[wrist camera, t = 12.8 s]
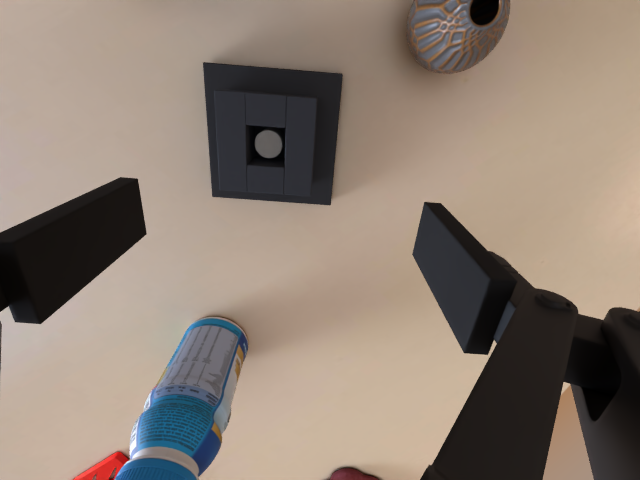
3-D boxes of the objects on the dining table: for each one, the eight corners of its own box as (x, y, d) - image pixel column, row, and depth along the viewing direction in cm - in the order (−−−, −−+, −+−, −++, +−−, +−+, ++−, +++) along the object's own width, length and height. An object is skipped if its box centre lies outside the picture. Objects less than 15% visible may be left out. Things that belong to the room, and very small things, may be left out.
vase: (414, 89, 30) (448, 90, 22) (386, 8, 28) (413, -23, 20) (489, 50, 29) (553, 36, 21) (467, -39, 26) (530, -93, 18)
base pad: (208, 63, 29) (192, 60, 26) (341, 74, 30) (344, 72, 26) (216, 192, 34) (204, 205, 31) (330, 200, 35) (331, 214, 31)
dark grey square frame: (227, 89, 29) (213, 89, 25) (317, 96, 29) (317, 98, 25) (231, 178, 32) (219, 190, 29) (312, 184, 32) (310, 196, 29)
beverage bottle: (226, 303, 40) (149, 480, 22) (262, 350, 44) (219, 538, 26) (171, 328, 42) (58, 510, 24) (210, 371, 45) (135, 561, 27)
